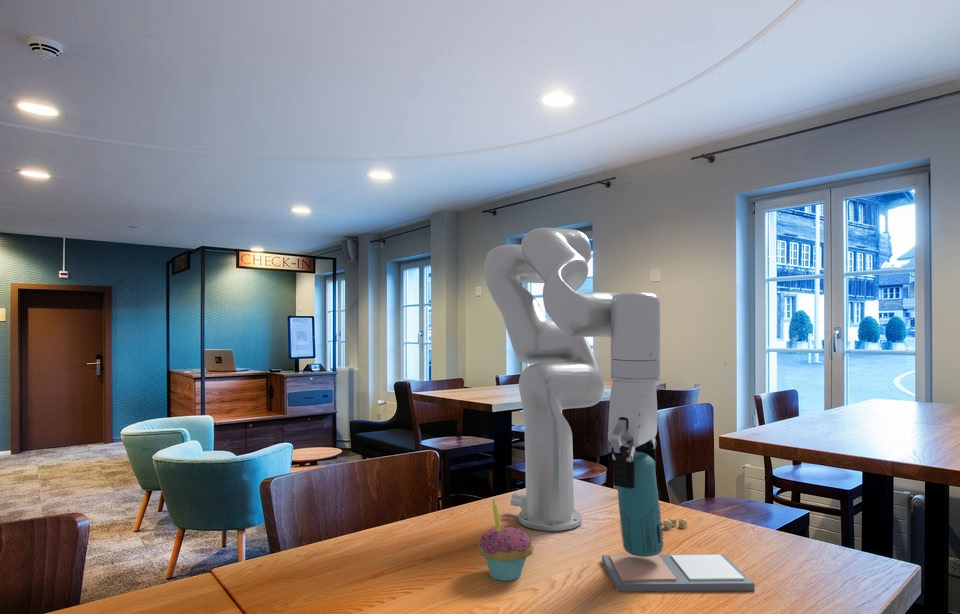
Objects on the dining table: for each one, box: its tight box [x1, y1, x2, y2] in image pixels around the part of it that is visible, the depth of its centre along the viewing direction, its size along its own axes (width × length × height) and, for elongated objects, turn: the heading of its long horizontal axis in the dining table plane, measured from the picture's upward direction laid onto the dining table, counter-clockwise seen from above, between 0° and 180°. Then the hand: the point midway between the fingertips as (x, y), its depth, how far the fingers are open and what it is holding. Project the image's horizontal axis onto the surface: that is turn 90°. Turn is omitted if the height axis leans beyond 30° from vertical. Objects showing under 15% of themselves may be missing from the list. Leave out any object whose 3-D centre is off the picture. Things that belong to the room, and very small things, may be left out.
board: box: [601, 553, 756, 592], centre depth 90 cm, size 20×11×1 cm, turn 89°
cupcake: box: [478, 498, 534, 582], centre depth 91 cm, size 9×8×12 cm
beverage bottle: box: [616, 439, 665, 557], centre depth 93 cm, size 6×7×20 cm
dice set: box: [661, 517, 688, 531], centre depth 112 cm, size 5×5×2 cm
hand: (635, 479), depth 91 cm, fingers open, 9 cm apart
